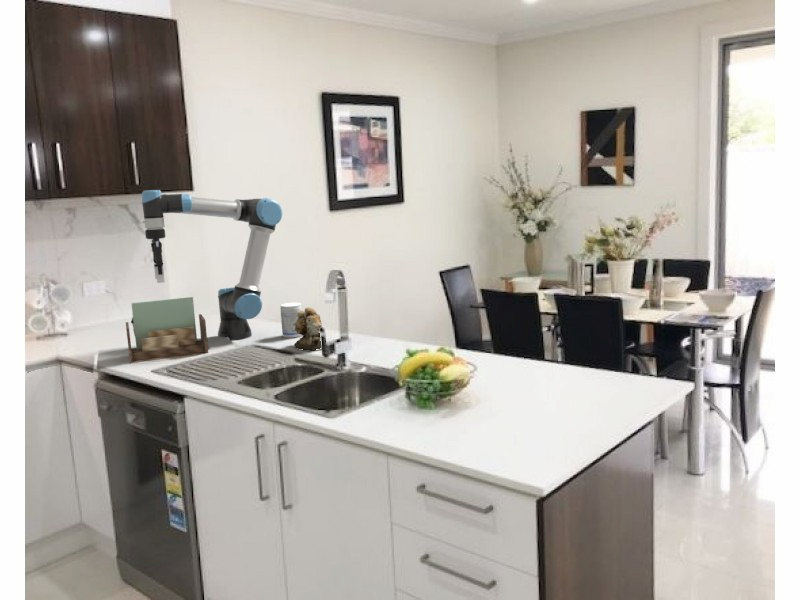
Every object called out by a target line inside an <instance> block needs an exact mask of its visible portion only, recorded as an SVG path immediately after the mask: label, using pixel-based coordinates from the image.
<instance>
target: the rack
mask: <svg viewBox="0 0 800 600" xmlns="http://www.w3.org/2000/svg"><path fill="white" fill-rule="evenodd" d="M198 320H199V332H200V339H197V342H195V344H188V345H180V346H179V347H176V348H168V349H160V350H152V351H144V352H142V349H137V348H136V347H133V348H132V344H131V335H130V325H129V322H128V321H126V322H125V329H126V338H127V346H128V356H129V362H130V364H135V363H143V362H151V361H157V360H158V361H159V360H165V359H166V360H167V359H175V358H182V357H190V356H195V355H206V354H209V346H208V345H209V344H208V337H207V336H208V335H207V325H206V323H207V322H206V319H205V317H204V316H203V315H202V314H198Z"/></svg>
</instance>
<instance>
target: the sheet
mask: <svg viewBox="0 0 800 600" xmlns="http://www.w3.org/2000/svg"><path fill="white" fill-rule="evenodd" d="M131 312H132V318H133V321H134V330H135V335H134V338H135V348H137V349H142V344H141V339H144V338H149V337H148V332H150V331H159V330H167V329H176V328H185V327H194V333H195V342H197V340H198V338H197V327H196V326H197V325H196V316H195V306H194V296H189V297H179V298H168V299H159V300H149V301H139V302H131Z"/></svg>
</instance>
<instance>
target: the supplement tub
mask: <svg viewBox="0 0 800 600" xmlns="http://www.w3.org/2000/svg"><path fill="white" fill-rule="evenodd" d="M279 310H280V319H281V331H282V337H283V338H286V337H287V338H292V339H294V337H295V338H299V337H300V338H301V337H303V335H301V334H298V333H297V331H296V330H295V323H296V322H297V319H298V316H297V314H298V312H300V311H303V309H302V304H301V302H286V303H282V304H280V309H279Z"/></svg>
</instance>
